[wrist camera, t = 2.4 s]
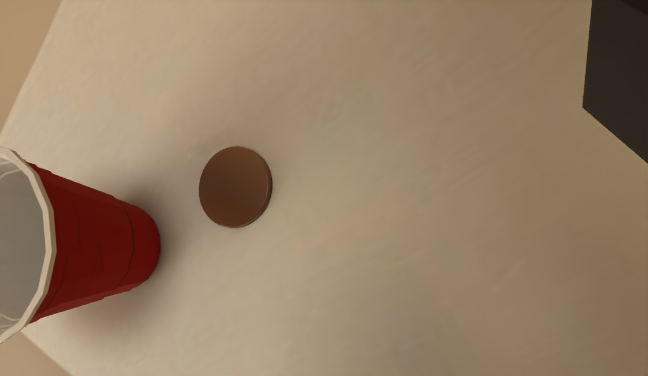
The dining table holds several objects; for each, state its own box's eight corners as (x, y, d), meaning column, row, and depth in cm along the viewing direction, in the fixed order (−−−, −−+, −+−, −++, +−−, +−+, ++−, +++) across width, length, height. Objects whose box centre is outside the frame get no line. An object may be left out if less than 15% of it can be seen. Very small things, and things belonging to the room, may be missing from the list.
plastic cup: (84, 349, 42) (-92, 376, 31) (58, 204, 45) (-112, 184, 34) (210, 304, 39) (59, 318, 28) (173, 150, 41) (23, 107, 30)
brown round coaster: (207, 147, 40) (202, 145, 40) (276, 148, 38) (272, 146, 38) (199, 225, 40) (194, 224, 39) (268, 230, 38) (264, 230, 37)
